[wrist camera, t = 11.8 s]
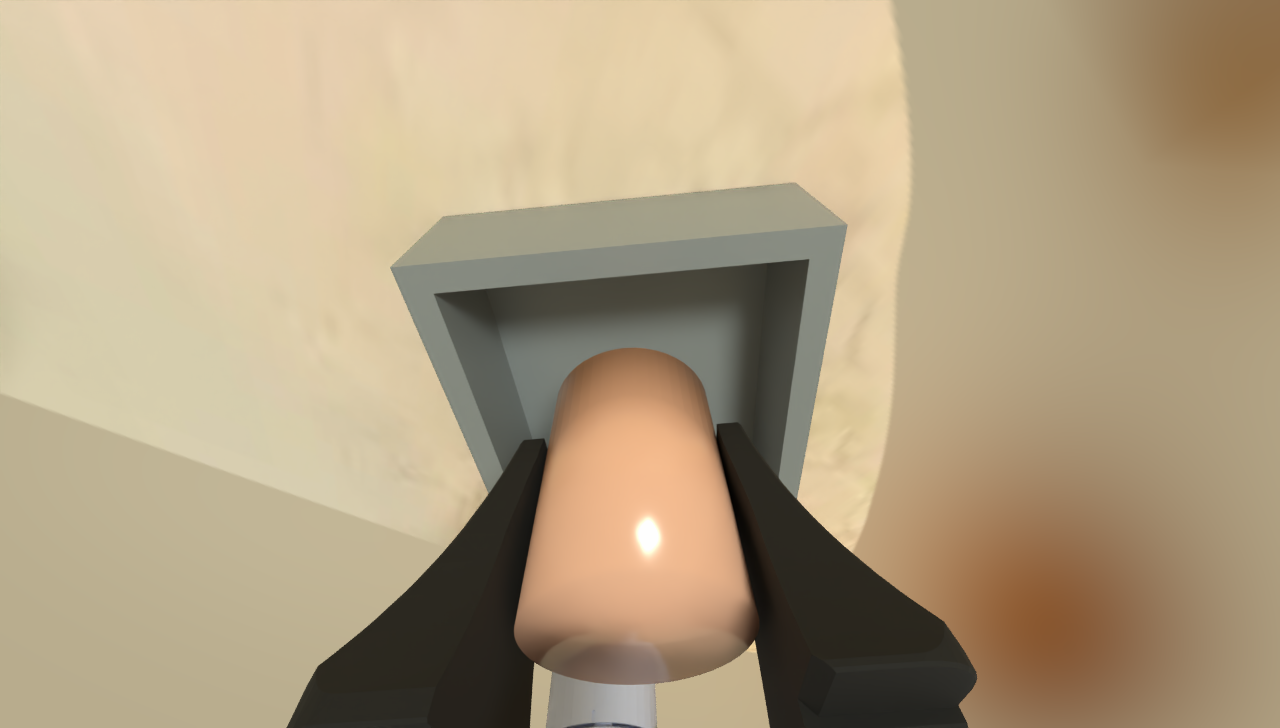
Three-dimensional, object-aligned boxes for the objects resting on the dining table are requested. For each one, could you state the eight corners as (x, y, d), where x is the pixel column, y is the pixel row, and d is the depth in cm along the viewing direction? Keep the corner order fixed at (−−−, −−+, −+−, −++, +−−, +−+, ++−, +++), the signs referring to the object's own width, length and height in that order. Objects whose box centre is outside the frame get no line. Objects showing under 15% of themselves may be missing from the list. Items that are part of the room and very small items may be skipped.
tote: (762, 484, 28) (785, 559, 24) (539, 501, 28) (525, 578, 24) (795, 182, 18) (847, 224, 13) (443, 216, 18) (390, 267, 14)
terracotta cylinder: (707, 456, 16) (752, 677, 11) (571, 467, 16) (542, 691, 11) (707, 340, 13) (769, 559, 8) (542, 355, 14) (482, 581, 8)
